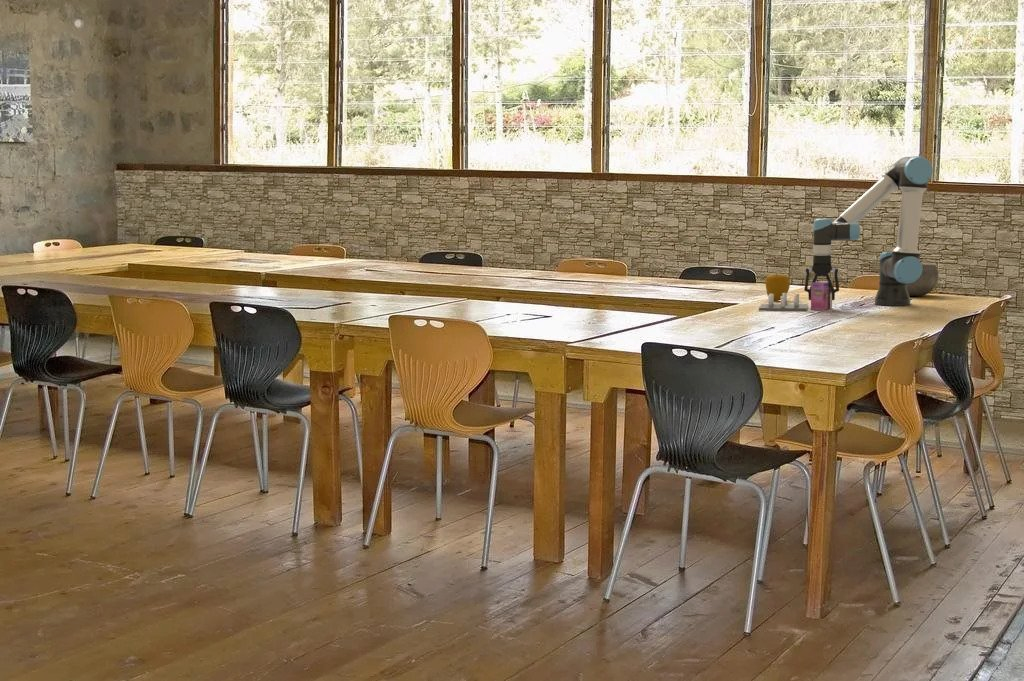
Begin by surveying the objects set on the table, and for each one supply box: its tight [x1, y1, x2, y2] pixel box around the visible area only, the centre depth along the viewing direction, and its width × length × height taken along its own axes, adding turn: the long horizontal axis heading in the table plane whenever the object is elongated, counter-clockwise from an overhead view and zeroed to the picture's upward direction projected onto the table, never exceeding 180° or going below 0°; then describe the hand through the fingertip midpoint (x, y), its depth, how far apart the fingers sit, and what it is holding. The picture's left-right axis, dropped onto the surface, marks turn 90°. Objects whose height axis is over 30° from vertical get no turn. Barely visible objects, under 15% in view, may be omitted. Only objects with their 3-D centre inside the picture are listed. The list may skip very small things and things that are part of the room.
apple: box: [764, 272, 791, 300], centre depth 589 cm, size 11×11×13 cm
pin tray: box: [758, 293, 809, 312], centre depth 552 cm, size 20×18×6 cm
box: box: [810, 280, 834, 311], centre depth 547 cm, size 10×6×12 cm, turn 143°
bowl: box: [907, 263, 939, 297], centre depth 597 cm, size 21×21×15 cm
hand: (821, 307), depth 548 cm, fingers closed on box, 7 cm apart
